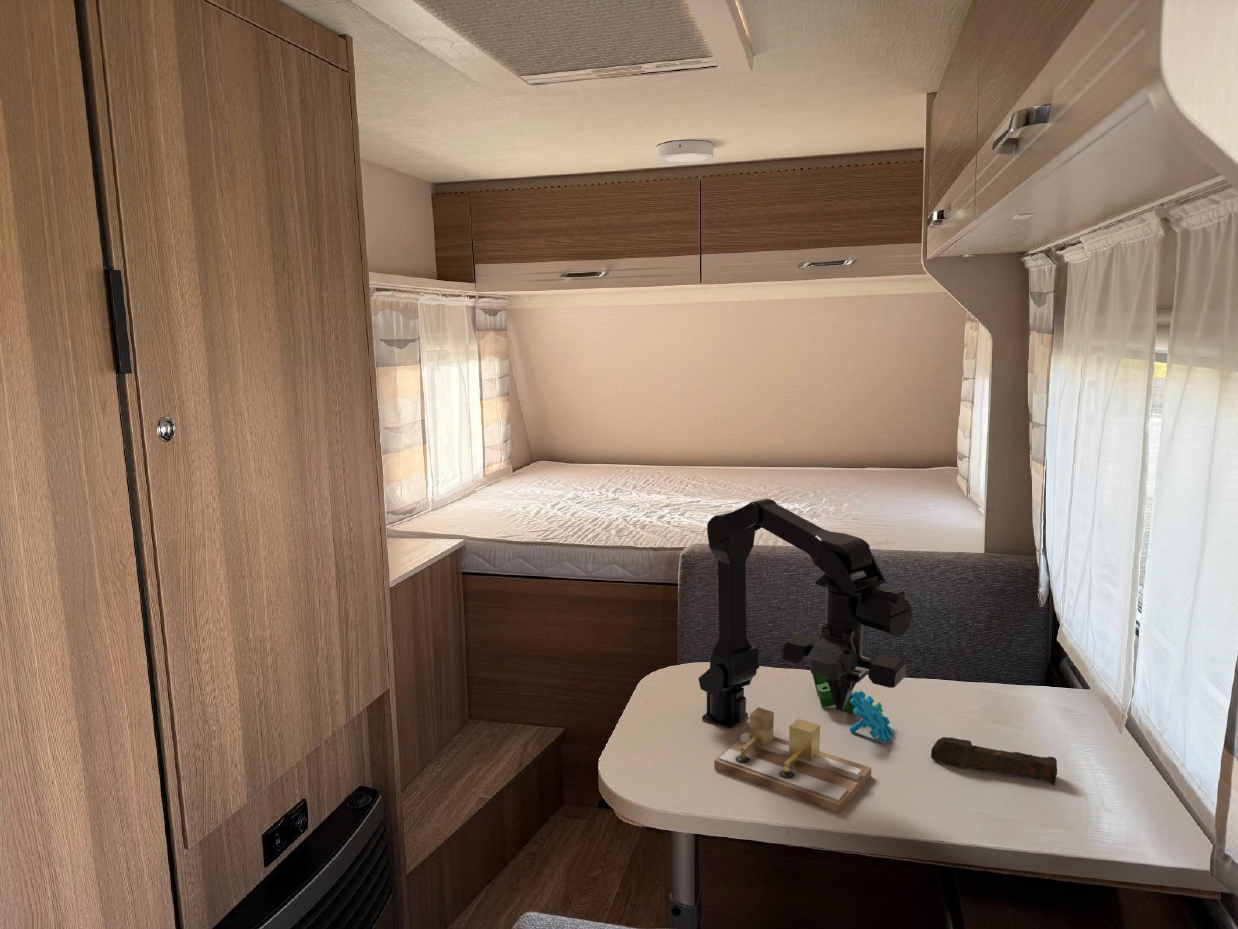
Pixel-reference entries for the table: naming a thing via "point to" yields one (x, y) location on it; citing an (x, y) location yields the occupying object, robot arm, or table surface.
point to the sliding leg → (802, 742)
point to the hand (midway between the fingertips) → (840, 709)
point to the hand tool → (993, 759)
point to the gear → (870, 717)
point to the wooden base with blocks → (807, 780)
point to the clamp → (828, 694)
